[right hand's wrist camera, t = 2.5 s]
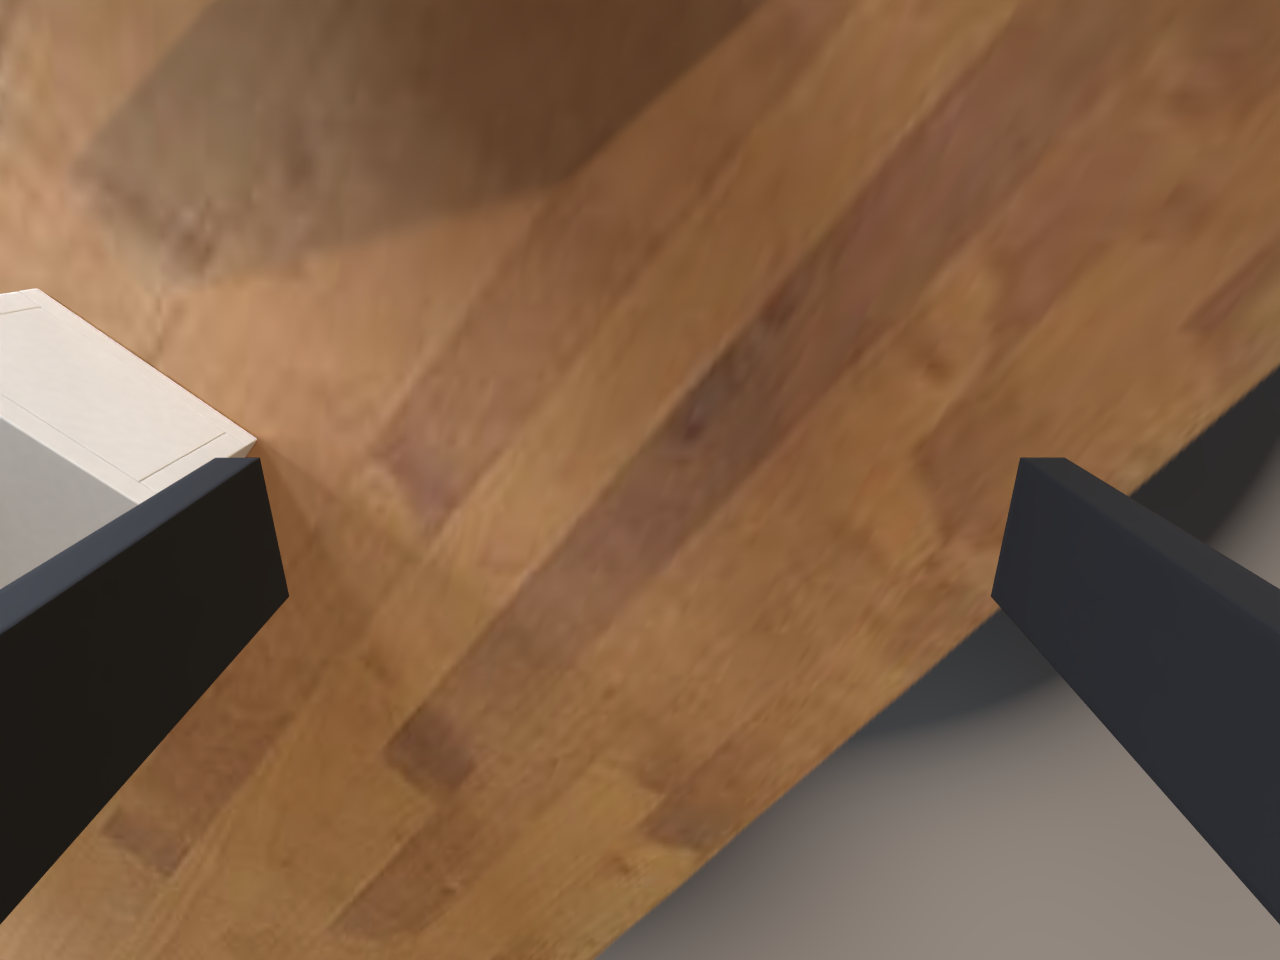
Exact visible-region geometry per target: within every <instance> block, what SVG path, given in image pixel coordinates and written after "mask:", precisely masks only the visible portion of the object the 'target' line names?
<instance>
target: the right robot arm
mask: <svg viewBox="0 0 1280 960" xmlns="http://www.w3.org/2000/svg"><path fill="white" fill-rule="evenodd" d="M288 597H289V594H288V589H287V584H286V579H285V575H284V570H283V565H282V561H281V556H280V551H279V546H278V542H277V537H276V532H275V528H274V523H273V518H272V513H271V509H270V504H269V499H268V495H267V490H266V485H265V480H264V476H263V471H262V466H261V462H260V458H214V459H212V460H211V461H209V462H207V463H206V464H204V465H203V466H201V467H199V468H198V469H196V470H194V471H193V472H191V473H189V474H188V475H186V476H185V477H183V478H181V479H180V480H178V481H176V482H175V483H173V484H171V485H170V486H168V487H167V488H165V489H163V490H162V491H160V492H158V493H157V494H155V495H154V496H152V497H150V498H149V499H147V500H145V501H144V502H142V503H140V504H139V505H137V506H136V507H134V508H132V509H131V510H129V511H127V512H126V513H124V514H122V515H121V516H119V517H118V518H116V519H114V520H113V521H111V522H109V523H108V524H106V525H104V526H103V527H101V528H100V529H98V530H96V531H95V532H93V533H91V534H90V535H88V536H87V537H85V538H83V539H82V540H80V541H78V542H77V543H75V544H73V545H72V546H70V547H69V548H67V549H65V550H64V551H62V552H60V553H59V554H57V555H55V556H54V557H52V558H51V559H49V560H47V561H46V562H44V563H42V564H41V565H39V566H38V567H36V568H34V569H33V570H31V571H29V572H28V573H26V574H24V575H23V576H21V577H20V578H18V579H16V580H15V581H13V582H11V583H10V584H8V585H6V586H5V587H3V588H2V589H0V924H1V923H2V922H3V921H4V920H5V918H6V917H7V916H8V915H9V914H10V913H11V912H12V911H13V909H14V908H15V907H16V906H17V905H18V904H19V903H20V901H21V900H22V899H23V898H24V897H25V896H26V895H27V893H28V892H29V891H30V890H31V889H32V888H33V887H34V886H35V884H36V883H37V882H38V881H39V880H40V879H41V878H42V876H43V875H44V874H45V873H46V872H47V871H48V870H49V868H50V867H51V866H52V865H53V864H54V863H55V862H56V861H57V859H58V858H59V857H60V856H61V855H62V854H63V853H64V851H65V850H66V849H67V848H68V847H69V846H70V845H71V843H72V842H73V841H74V840H75V839H76V838H77V837H78V836H79V834H80V833H81V832H82V831H83V830H84V829H85V828H86V826H87V825H88V824H89V823H90V822H91V821H92V820H93V818H94V817H95V816H96V815H97V814H98V813H99V812H100V811H101V809H102V808H103V807H104V806H105V805H106V804H107V803H108V801H109V800H110V799H111V798H112V797H113V796H114V795H115V794H116V792H117V791H118V790H119V789H120V788H121V787H122V786H123V784H124V783H125V782H126V781H127V780H128V779H129V778H130V776H131V775H132V774H133V773H134V772H135V771H136V770H137V769H138V767H139V766H140V765H141V764H142V763H143V762H144V761H145V759H146V758H147V757H148V756H149V755H150V754H151V753H152V751H153V750H154V749H155V748H156V747H157V746H158V745H159V744H160V742H161V741H162V740H163V739H164V738H165V737H166V736H167V734H168V733H169V732H170V731H171V730H172V729H173V728H174V726H175V725H176V724H177V723H178V722H179V721H180V720H181V719H182V717H183V716H184V715H185V714H186V713H187V712H188V711H189V709H190V708H191V707H192V706H193V705H194V704H195V703H196V701H197V700H198V699H199V698H200V697H201V696H202V695H203V694H204V692H205V691H206V690H207V689H208V688H209V687H210V686H211V684H212V683H213V682H214V681H215V680H216V679H217V678H218V676H219V675H220V674H221V673H222V672H223V671H224V670H225V669H226V667H227V666H228V665H229V664H230V663H231V662H232V661H233V659H234V658H235V657H236V656H237V655H238V654H239V653H240V652H241V650H242V649H243V648H244V647H245V646H246V645H247V644H248V642H249V641H250V640H251V639H252V638H253V637H254V636H255V634H256V633H257V632H258V631H259V630H260V629H261V628H262V627H263V625H264V624H265V623H266V622H267V621H268V620H269V619H270V617H271V616H272V615H273V614H274V613H275V612H276V611H277V609H278V608H279V607H280V606H281V605H282V604H283V603H284V602H285V600H286V599H287V598H288ZM991 597H992V598H993V599H994V600H995V602H996V603H997V604H998V605H999V606H1000V607H1001V608H1002V609H1003V611H1004V612H1005V613H1006V614H1007V615H1008V616H1009V617H1010V619H1011V620H1012V621H1013V622H1014V623H1015V624H1016V625H1017V626H1018V628H1019V629H1020V630H1021V631H1022V632H1023V633H1024V634H1025V636H1026V637H1027V638H1028V639H1029V640H1030V641H1031V642H1032V644H1033V645H1034V646H1035V647H1036V648H1037V649H1038V650H1039V652H1040V653H1041V654H1042V655H1043V656H1044V657H1045V658H1046V659H1047V661H1048V662H1049V663H1050V664H1051V665H1052V666H1053V667H1054V669H1055V670H1056V671H1057V672H1058V673H1059V674H1060V675H1061V676H1062V678H1063V679H1064V680H1065V681H1066V682H1067V683H1068V684H1069V686H1070V687H1071V688H1072V689H1073V690H1074V691H1075V692H1076V694H1077V695H1078V696H1079V697H1080V698H1081V699H1082V700H1083V701H1084V703H1085V704H1086V705H1087V706H1088V707H1089V708H1090V709H1091V711H1092V712H1093V713H1094V714H1095V715H1096V716H1097V717H1098V719H1099V720H1100V721H1101V722H1102V723H1103V724H1104V725H1105V726H1106V728H1107V729H1108V730H1109V731H1110V732H1111V733H1112V734H1113V736H1114V737H1115V738H1116V739H1117V740H1118V741H1119V742H1120V744H1121V745H1122V746H1123V747H1124V748H1125V749H1126V750H1127V751H1128V753H1129V754H1130V755H1131V756H1132V757H1133V758H1134V759H1135V761H1136V762H1137V763H1138V764H1139V765H1140V766H1141V767H1142V768H1143V770H1144V771H1145V772H1146V773H1147V774H1148V775H1149V776H1150V778H1151V779H1152V780H1153V781H1154V782H1155V783H1156V784H1157V786H1158V787H1159V788H1160V789H1161V790H1162V791H1163V792H1164V794H1165V795H1166V796H1167V797H1168V798H1169V799H1170V800H1171V801H1172V803H1173V804H1174V805H1175V806H1176V807H1177V808H1178V809H1179V810H1180V812H1181V813H1182V814H1183V815H1184V816H1185V817H1186V818H1187V820H1188V821H1189V822H1190V823H1191V824H1192V825H1193V826H1194V828H1195V829H1196V830H1197V831H1198V832H1199V833H1200V834H1201V836H1202V837H1203V838H1204V839H1205V840H1206V841H1207V842H1208V843H1209V845H1210V846H1211V847H1212V848H1213V849H1214V850H1215V851H1216V852H1217V854H1218V855H1219V856H1220V857H1221V858H1222V859H1223V861H1224V862H1225V863H1226V864H1227V865H1228V866H1229V867H1230V868H1231V870H1232V871H1233V872H1234V873H1235V874H1236V875H1237V876H1238V878H1239V879H1240V880H1241V881H1242V882H1243V883H1244V884H1245V886H1246V887H1247V888H1248V889H1249V890H1250V891H1251V892H1252V893H1253V895H1254V896H1255V897H1256V898H1257V899H1258V900H1259V901H1260V903H1261V904H1262V905H1263V906H1264V907H1265V908H1266V909H1267V910H1268V912H1269V913H1270V914H1271V915H1272V916H1273V917H1274V918H1275V920H1276V921H1277V922H1278V923H1279V924H1280V589H1278V588H1277V587H1275V586H1273V585H1272V584H1270V583H1269V582H1267V581H1265V580H1264V579H1262V578H1260V577H1259V576H1257V575H1256V574H1254V573H1252V572H1251V571H1249V570H1247V569H1246V568H1244V567H1242V566H1241V565H1239V564H1238V563H1236V562H1234V561H1233V560H1231V559H1229V558H1228V557H1226V556H1224V555H1223V554H1221V553H1220V552H1218V551H1216V550H1215V549H1213V548H1211V547H1210V546H1208V545H1207V544H1205V543H1203V542H1202V541H1200V540H1198V539H1197V538H1195V537H1193V536H1192V535H1190V534H1189V533H1187V532H1185V531H1184V530H1182V529H1180V528H1179V527H1177V526H1175V525H1174V524H1172V523H1171V522H1169V521H1167V520H1166V519H1164V518H1162V517H1161V516H1159V515H1158V514H1156V513H1154V512H1153V511H1151V510H1149V509H1148V508H1146V507H1144V506H1143V505H1141V504H1140V503H1138V502H1136V501H1135V500H1133V499H1131V498H1130V497H1128V496H1126V495H1125V494H1123V493H1122V492H1120V491H1118V490H1117V489H1115V488H1113V487H1112V486H1110V485H1109V484H1107V483H1105V482H1104V481H1102V480H1100V479H1099V478H1097V477H1095V476H1094V475H1092V474H1091V473H1089V472H1087V471H1086V470H1084V469H1082V468H1081V467H1079V466H1077V465H1076V464H1074V463H1073V462H1071V461H1069V460H1068V459H1066V458H1020V462H1019V466H1018V471H1017V476H1016V480H1015V485H1014V490H1013V495H1012V499H1011V504H1010V509H1009V513H1008V518H1007V523H1006V528H1005V532H1004V537H1003V542H1002V546H1001V551H1000V556H999V561H998V565H997V570H996V575H995V579H994V584H993V589H992V594H991Z"/></svg>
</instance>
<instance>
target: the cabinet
mask: <svg viewBox="0 0 1280 960" xmlns="http://www.w3.org/2000/svg"><path fill="white" fill-rule="evenodd" d="M256 441H257V438H255V437H254V436H252V435H251V434H249V433H248V432H247V431H245V430H244V429H242V428H241V427H239V426H238V425H236V424H235V423H233V422H232V421H230V420H229V419H228V418H226V417H225V416H223V415H222V414H220V413H219V412H217V411H216V410H214V409H213V408H212V407H210V406H209V405H207V404H206V403H204V402H203V401H201V400H200V399H198V398H197V397H195V396H194V395H193V394H191V393H190V392H188V391H187V390H185V389H184V388H182V387H181V386H179V385H178V384H176V383H175V382H174V381H172V380H171V379H169V378H168V377H166V376H165V375H163V374H162V373H160V372H159V371H157V370H156V369H155V368H153V367H152V366H150V365H149V364H147V363H146V362H144V361H143V360H141V359H140V358H139V357H137V356H136V355H134V354H133V353H131V352H130V351H128V350H127V349H125V348H124V347H122V346H121V345H120V344H118V343H117V342H115V341H114V340H112V339H111V338H109V337H108V336H106V335H105V334H103V333H102V332H101V331H99V330H98V329H96V328H95V327H93V326H92V325H90V324H89V323H87V322H86V321H84V320H83V319H82V318H80V317H79V316H77V315H76V314H74V313H73V312H71V311H70V310H68V309H67V308H66V307H64V306H63V305H61V304H60V303H58V302H57V301H55V300H54V299H52V298H51V297H49V296H48V295H47V294H45V293H44V292H42V291H41V290H39V289H30V290H23V291H19V292H13V293H6V294H0V589H2V588H3V587H5V586H6V585H8V584H10V583H11V582H13V581H15V580H16V579H18V578H20V577H21V576H23V575H24V574H26V573H28V572H29V571H31V570H33V569H34V568H36V567H38V566H39V565H41V564H42V563H44V562H46V561H47V560H49V559H51V558H52V557H54V556H55V555H57V554H59V553H60V552H62V551H64V550H65V549H67V548H69V547H70V546H72V545H73V544H75V543H77V542H78V541H80V540H82V539H83V538H85V537H87V536H88V535H90V534H91V533H93V532H95V531H96V530H98V529H100V528H101V527H103V526H104V525H106V524H108V523H109V522H111V521H113V520H114V519H116V518H118V517H119V516H121V515H122V514H124V513H126V512H127V511H129V510H131V509H132V508H134V507H136V506H137V505H139V504H140V503H142V502H144V501H145V500H147V499H149V498H150V497H152V496H154V495H155V494H157V493H158V492H160V491H162V490H163V489H165V488H167V487H168V486H170V485H171V484H173V483H175V482H176V481H178V480H180V479H181V478H183V477H185V476H186V475H188V474H189V473H191V472H193V471H194V470H196V469H198V468H199V467H201V466H203V465H204V464H206V463H207V462H209V461H211V460H212V459H214V458H245V457H246V456H247V454H248V453H249V451H250V450H251V448H252V447H253V445H254V444H255V442H256Z"/></svg>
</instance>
